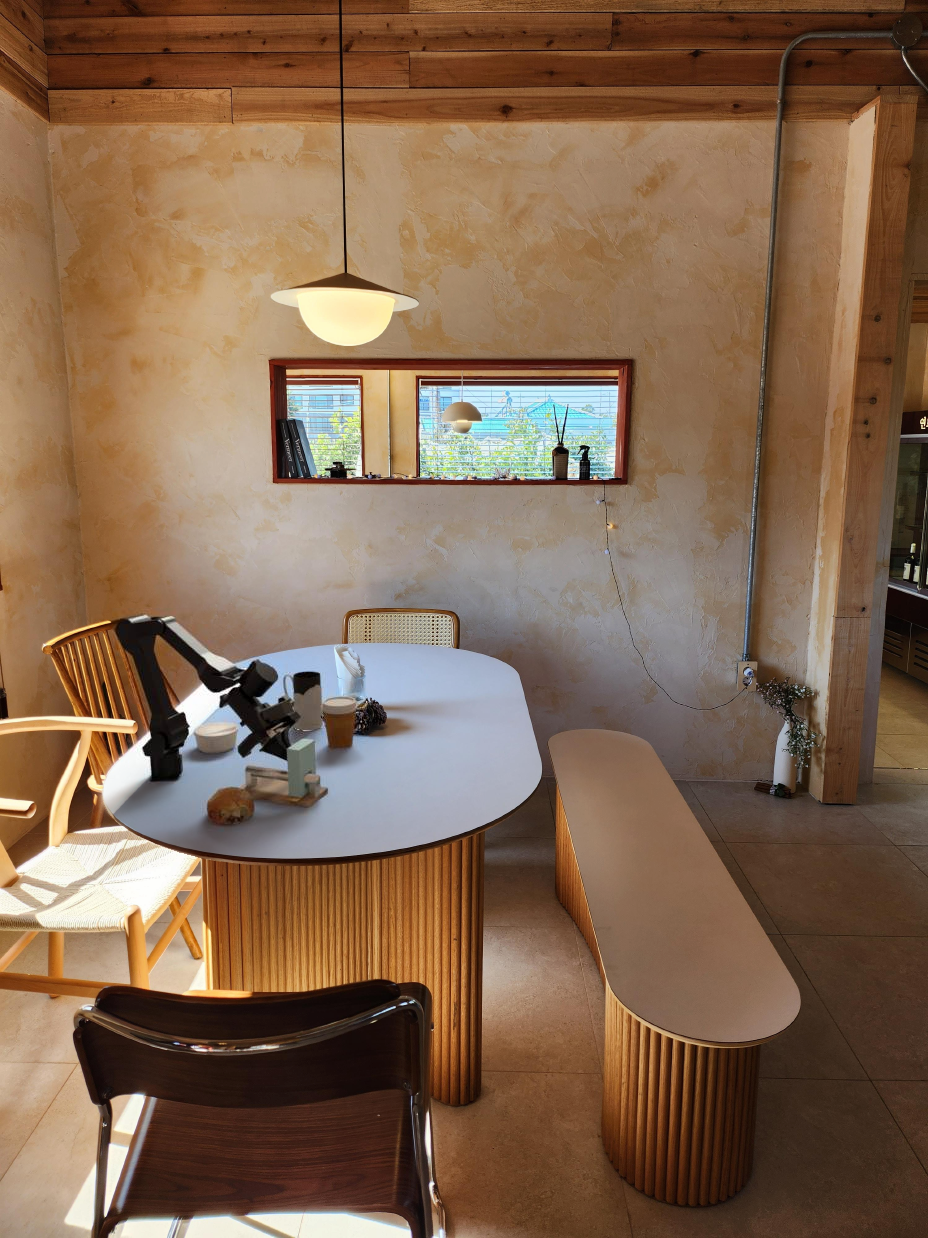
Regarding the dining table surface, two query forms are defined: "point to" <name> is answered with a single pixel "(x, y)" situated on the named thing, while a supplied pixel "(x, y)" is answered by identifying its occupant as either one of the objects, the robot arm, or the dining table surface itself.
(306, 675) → the black and white mug
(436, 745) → the dining table surface
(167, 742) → the robot arm
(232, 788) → the bread roll
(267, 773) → the grey metal pipe
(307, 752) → the sage green slotted block
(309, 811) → the dining table surface
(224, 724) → the ramekin
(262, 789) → the walnut board
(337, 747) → the disposable coffee cup
